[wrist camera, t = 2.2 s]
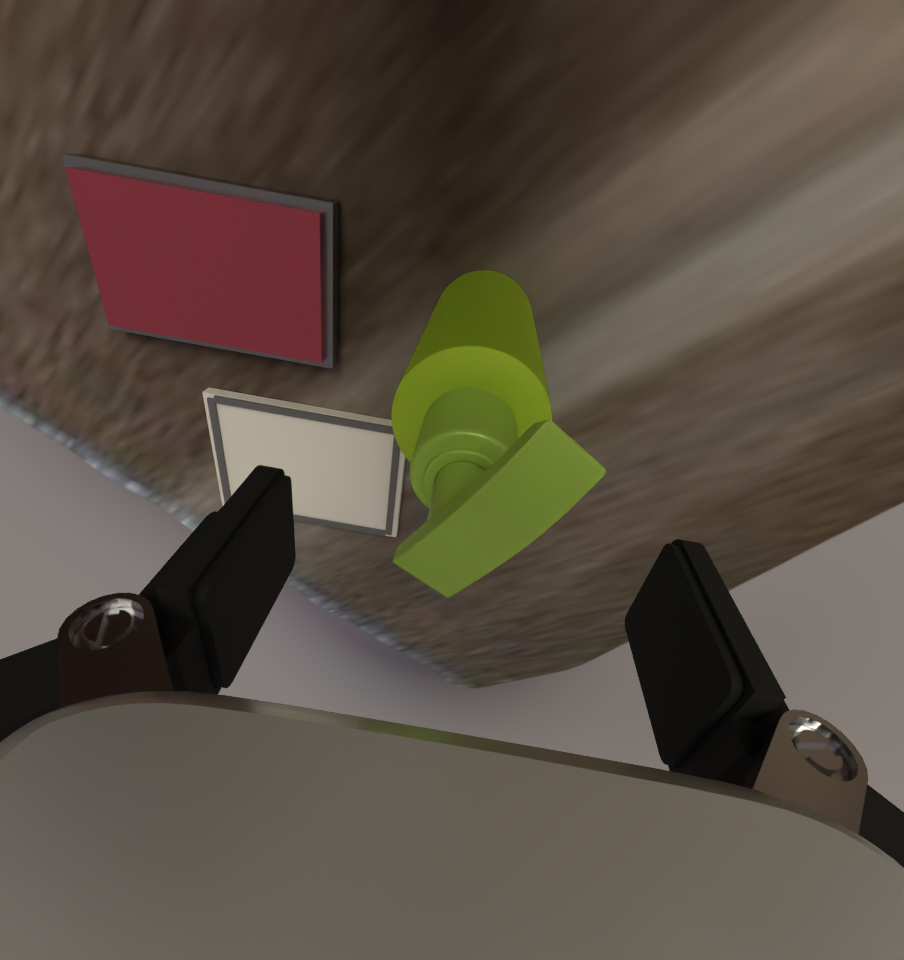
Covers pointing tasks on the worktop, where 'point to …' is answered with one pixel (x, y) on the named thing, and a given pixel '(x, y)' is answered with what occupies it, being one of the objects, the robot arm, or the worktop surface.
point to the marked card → (311, 458)
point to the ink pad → (211, 259)
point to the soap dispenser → (482, 436)
